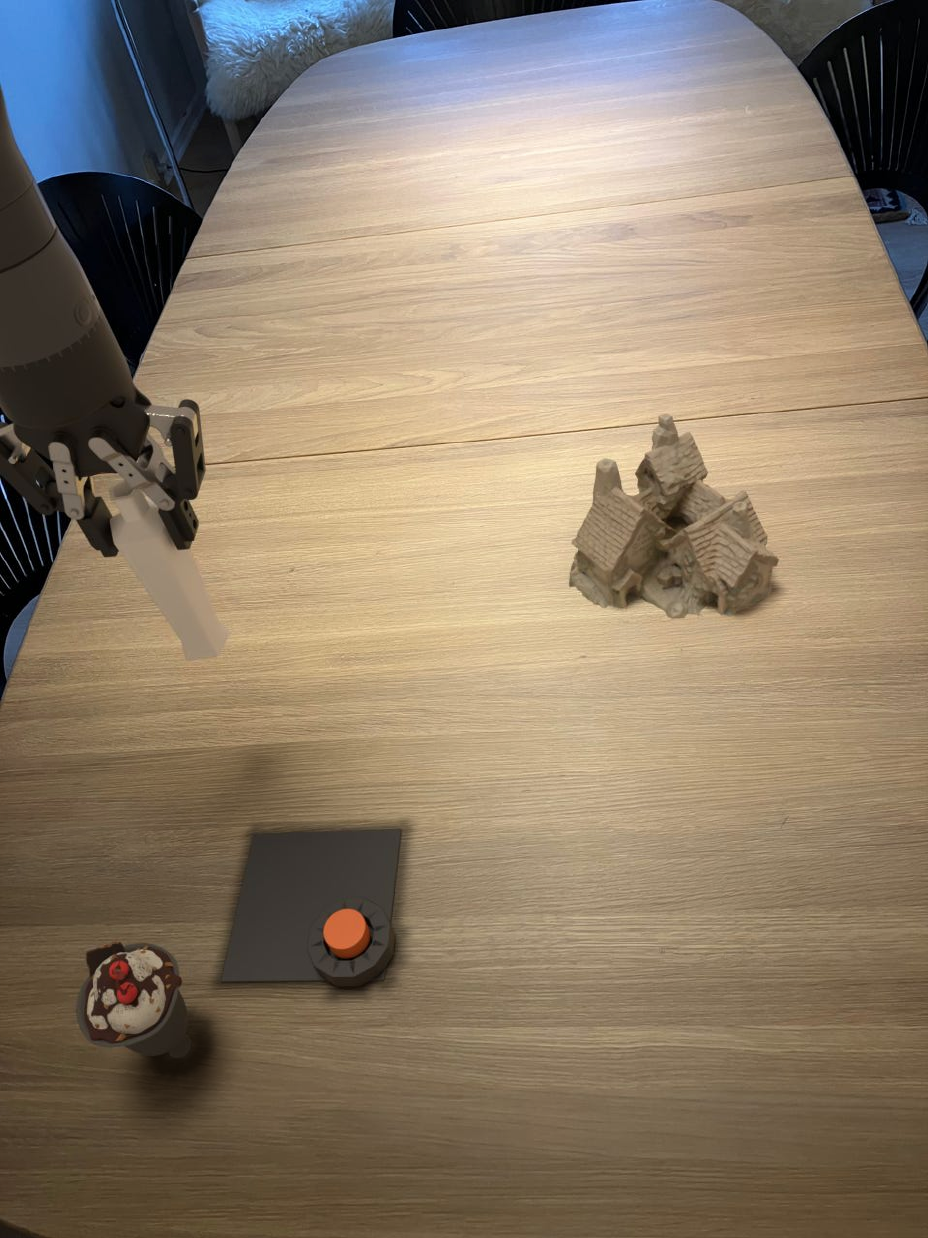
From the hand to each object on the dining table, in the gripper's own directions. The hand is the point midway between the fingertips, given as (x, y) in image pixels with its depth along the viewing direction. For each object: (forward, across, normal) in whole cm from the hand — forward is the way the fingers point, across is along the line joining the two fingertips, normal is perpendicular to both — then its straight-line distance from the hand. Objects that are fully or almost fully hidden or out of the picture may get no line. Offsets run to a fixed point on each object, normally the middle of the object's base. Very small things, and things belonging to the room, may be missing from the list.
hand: (150, 544), depth 69 cm
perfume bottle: (+11, 0, 0) cm, 11 cm away
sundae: (+26, +1, +24) cm, 35 cm away
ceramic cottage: (+26, -35, -17) cm, 47 cm away
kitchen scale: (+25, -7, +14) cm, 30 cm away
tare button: (+23, -10, +18) cm, 31 cm away
